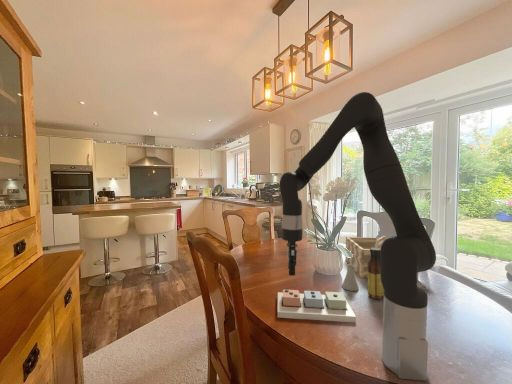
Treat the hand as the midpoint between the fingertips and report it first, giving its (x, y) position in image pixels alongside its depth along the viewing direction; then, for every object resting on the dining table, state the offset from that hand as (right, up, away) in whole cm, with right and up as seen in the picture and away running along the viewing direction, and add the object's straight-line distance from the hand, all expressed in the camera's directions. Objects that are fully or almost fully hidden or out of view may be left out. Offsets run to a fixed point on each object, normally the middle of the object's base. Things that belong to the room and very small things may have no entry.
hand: (291, 271), depth 84 cm
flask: (+29, -13, +17) cm, 36 cm away
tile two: (+8, -11, 0) cm, 14 cm away
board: (+8, -13, 0) cm, 16 cm away
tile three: (0, -11, 0) cm, 11 cm away
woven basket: (+53, -12, +39) cm, 67 cm away
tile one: (+16, -11, -1) cm, 20 cm away
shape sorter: (+54, -13, +38) cm, 68 cm away
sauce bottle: (+36, -13, +9) cm, 39 cm away
